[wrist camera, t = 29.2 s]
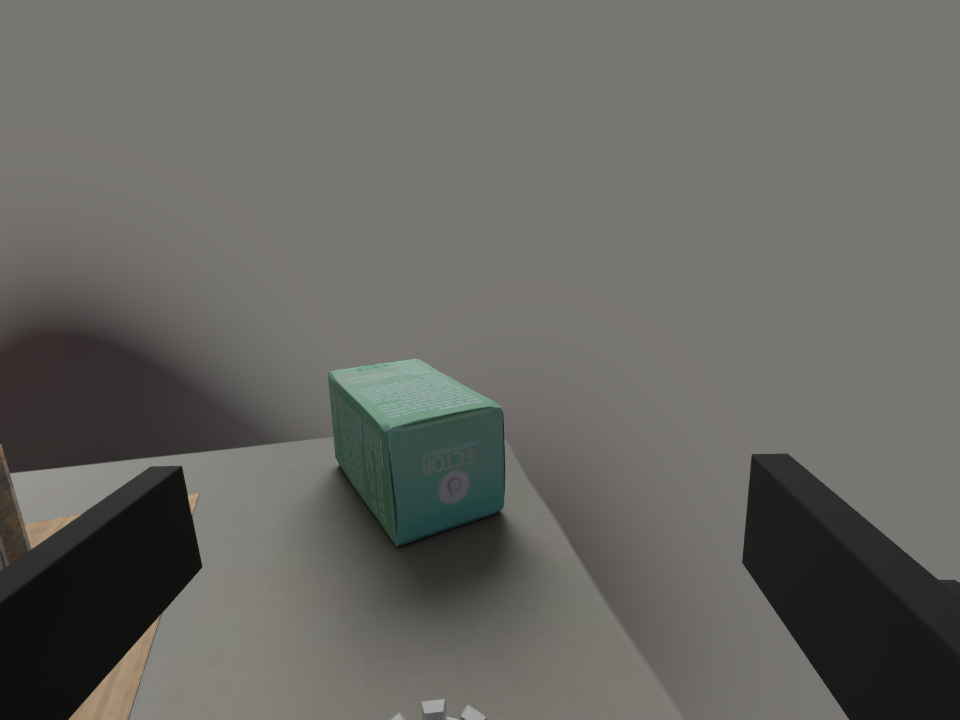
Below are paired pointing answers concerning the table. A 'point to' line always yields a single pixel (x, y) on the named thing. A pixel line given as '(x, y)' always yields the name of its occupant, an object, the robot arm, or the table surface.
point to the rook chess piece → (444, 712)
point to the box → (418, 447)
